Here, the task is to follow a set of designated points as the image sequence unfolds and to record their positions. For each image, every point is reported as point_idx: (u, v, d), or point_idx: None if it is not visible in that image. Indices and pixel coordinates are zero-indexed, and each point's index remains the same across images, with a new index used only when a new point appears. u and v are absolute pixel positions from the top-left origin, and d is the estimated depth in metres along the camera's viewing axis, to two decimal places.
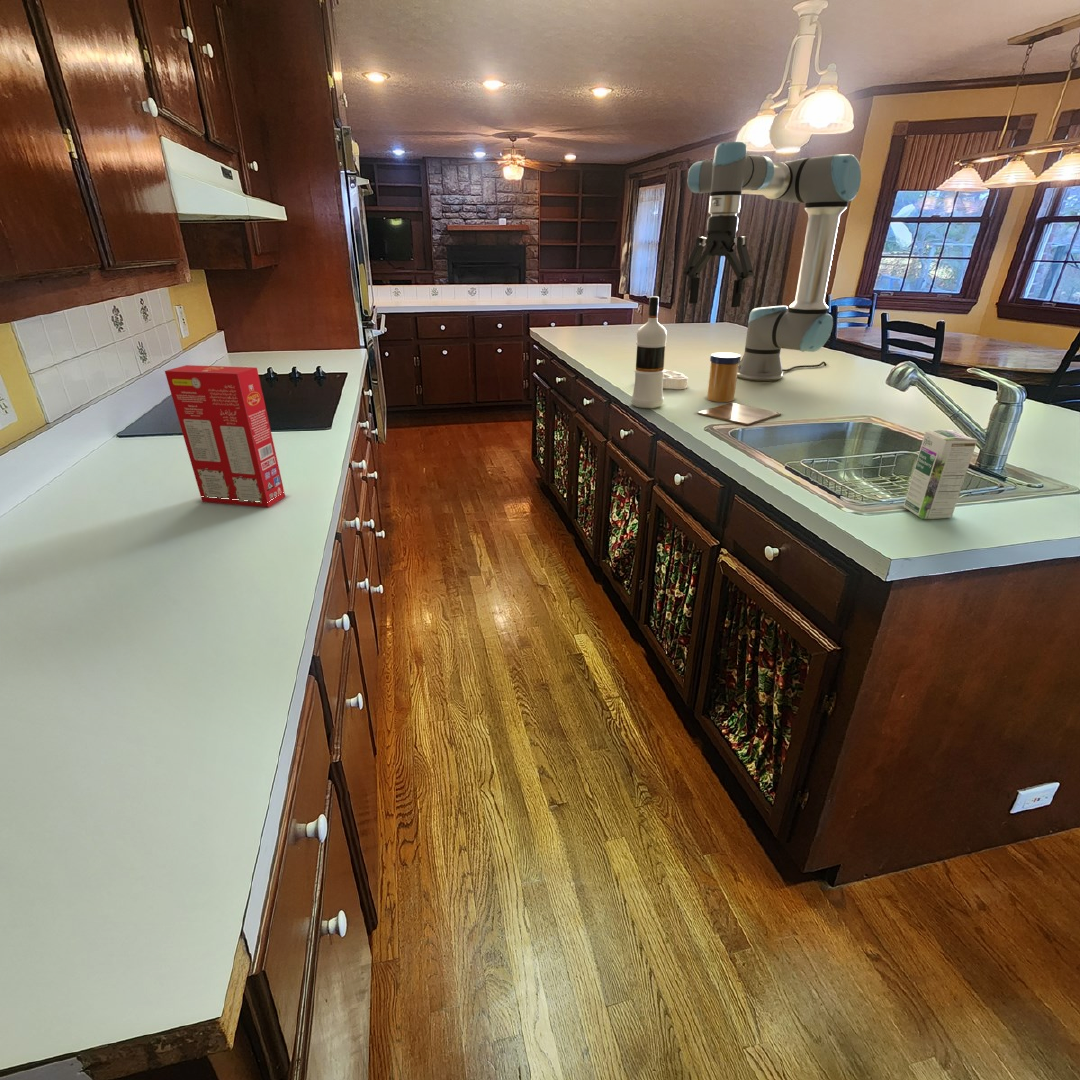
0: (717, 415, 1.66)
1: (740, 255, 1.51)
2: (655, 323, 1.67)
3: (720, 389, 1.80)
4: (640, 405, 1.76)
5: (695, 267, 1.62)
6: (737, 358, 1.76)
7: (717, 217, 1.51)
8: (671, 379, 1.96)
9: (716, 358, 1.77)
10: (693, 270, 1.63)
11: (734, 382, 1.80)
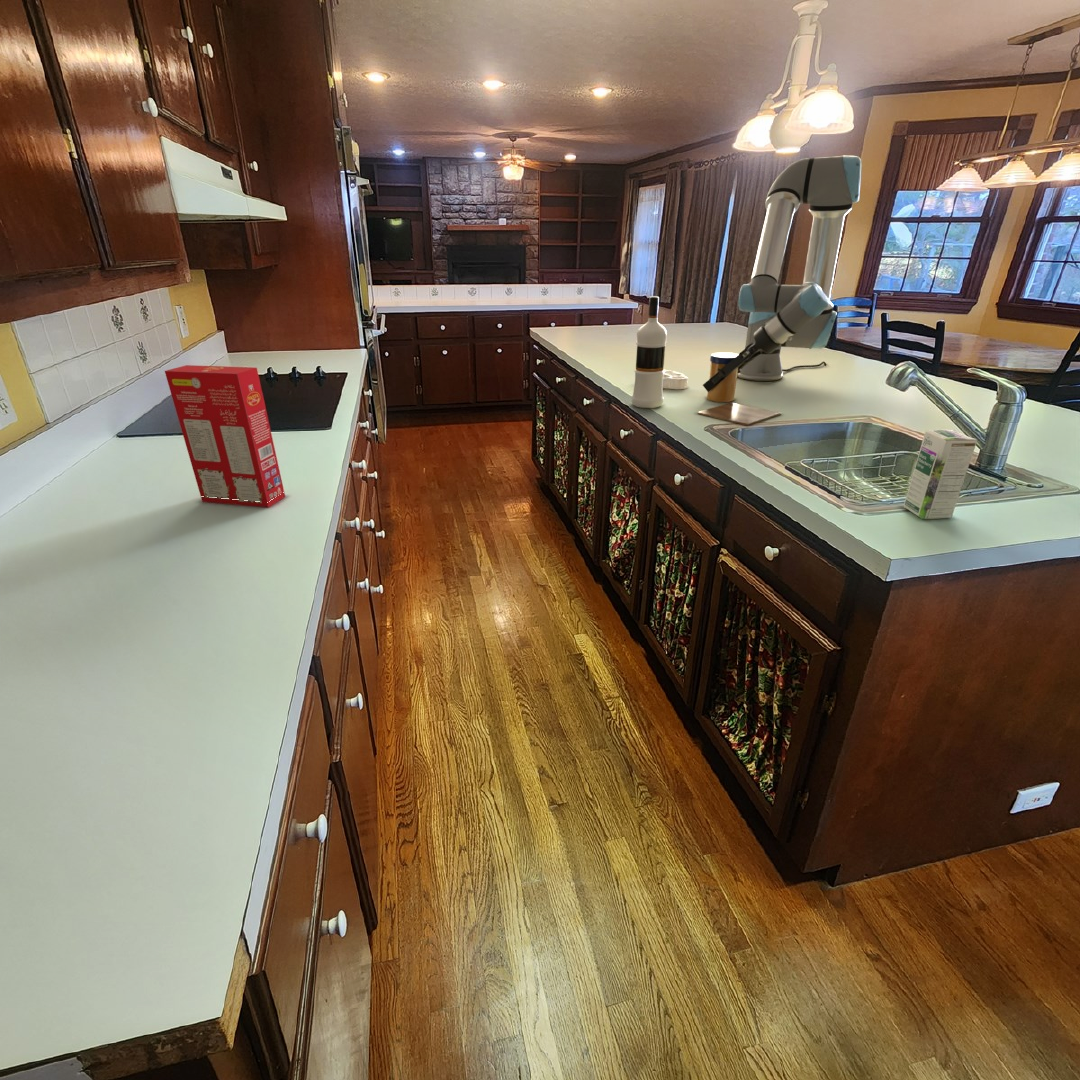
0: (717, 415, 1.66)
1: None
2: (655, 323, 1.67)
3: (720, 389, 1.80)
4: (640, 405, 1.76)
5: (732, 371, 1.75)
6: None
7: (779, 345, 1.70)
8: (671, 379, 1.96)
9: (716, 358, 1.77)
10: (729, 373, 1.75)
11: (734, 382, 1.80)
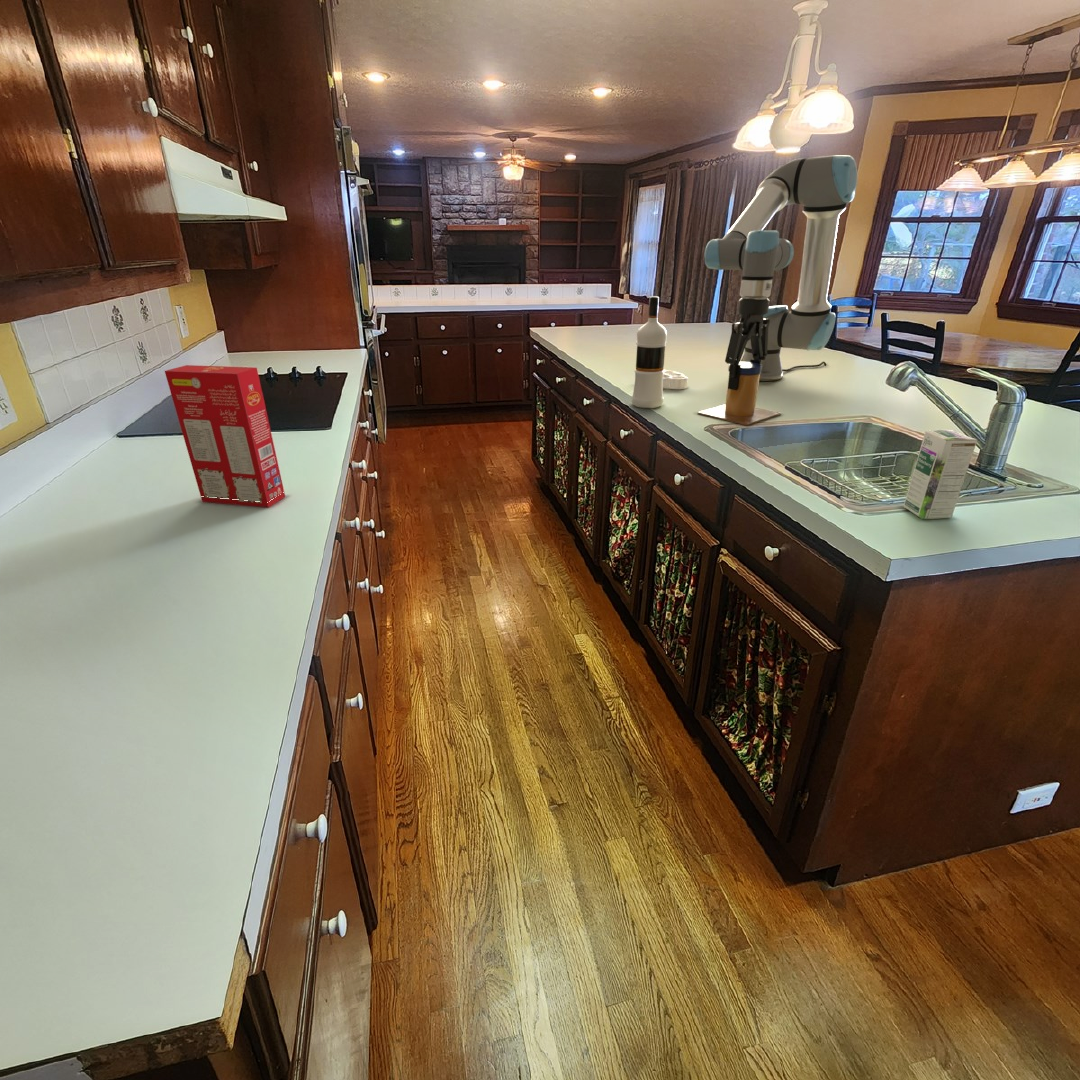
0: (717, 415, 1.66)
1: (766, 336, 1.62)
2: (655, 323, 1.67)
3: (740, 403, 1.64)
4: (640, 405, 1.76)
5: (741, 353, 1.58)
6: (759, 368, 1.60)
7: (768, 300, 1.53)
8: (671, 379, 1.96)
9: None
10: (740, 357, 1.58)
11: (755, 394, 1.64)
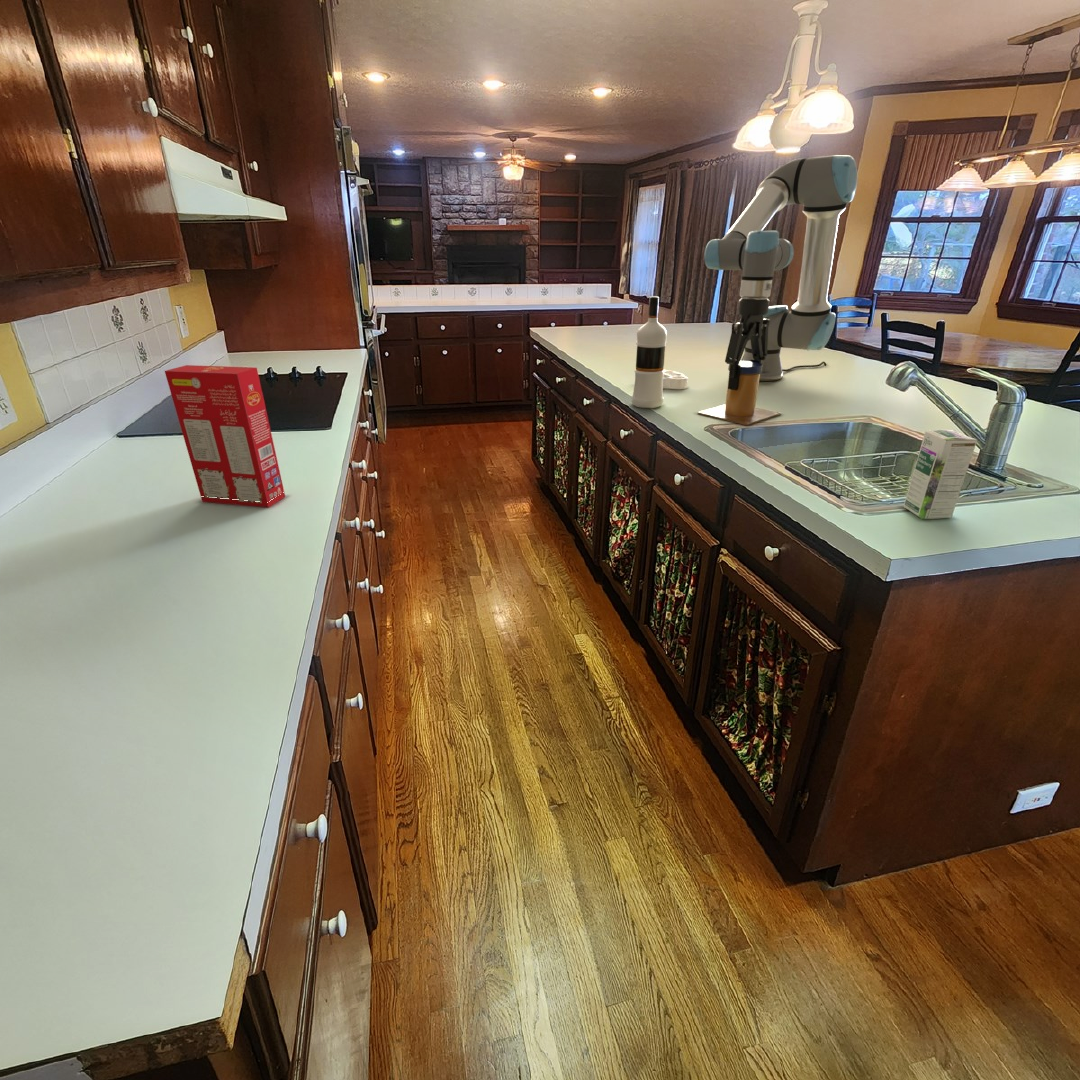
0: (717, 415, 1.66)
1: (766, 336, 1.62)
2: (655, 323, 1.67)
3: (740, 403, 1.64)
4: (640, 405, 1.76)
5: (741, 353, 1.58)
6: None
7: (768, 300, 1.53)
8: (671, 379, 1.96)
9: (758, 367, 1.60)
10: (739, 357, 1.58)
11: (755, 394, 1.64)
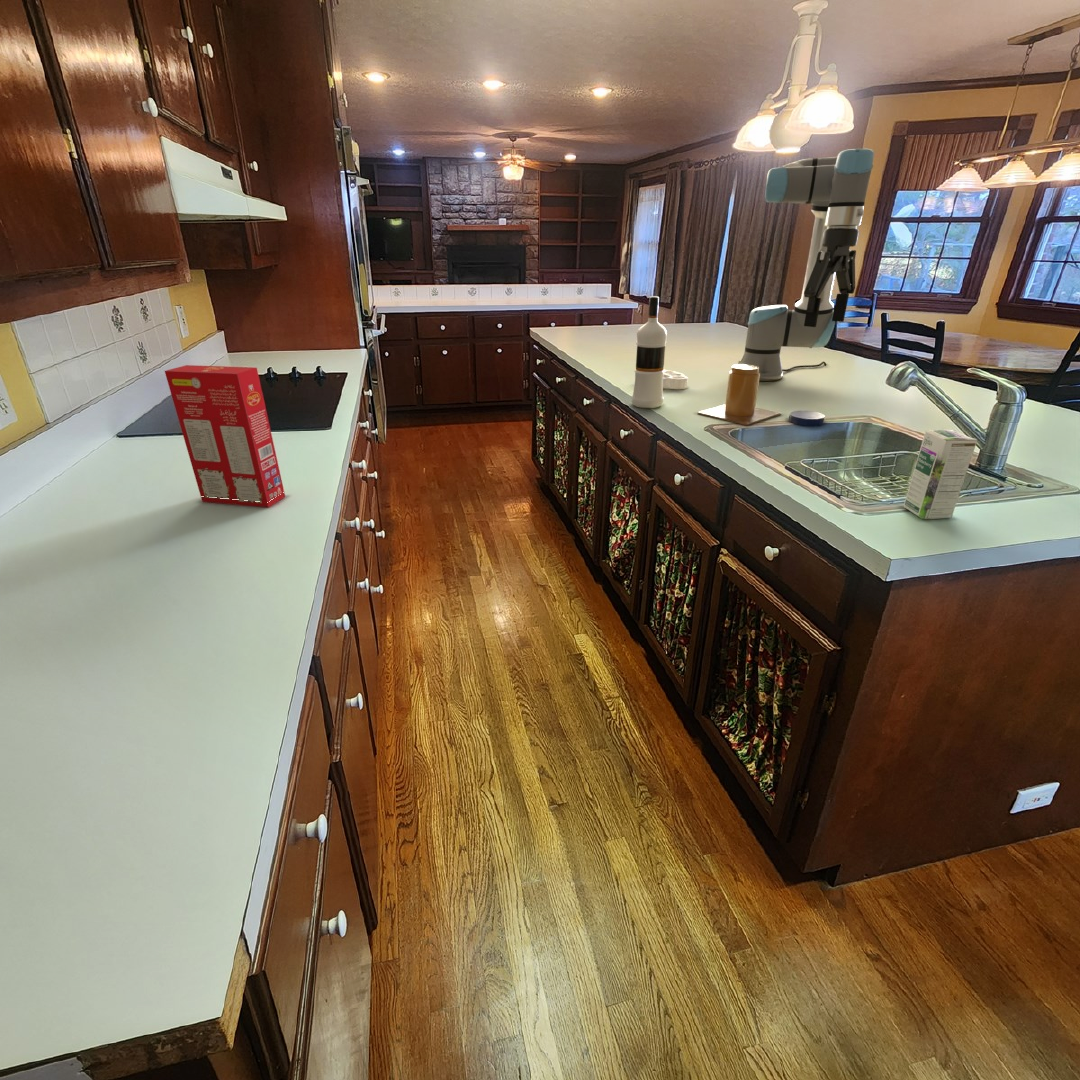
0: (717, 415, 1.66)
1: (853, 269, 1.48)
2: (655, 323, 1.67)
3: (740, 403, 1.64)
4: (640, 405, 1.76)
5: (823, 286, 1.42)
6: None
7: (858, 230, 1.39)
8: (671, 379, 1.96)
9: (821, 419, 1.58)
10: (821, 289, 1.42)
11: (755, 394, 1.64)
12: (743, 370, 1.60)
